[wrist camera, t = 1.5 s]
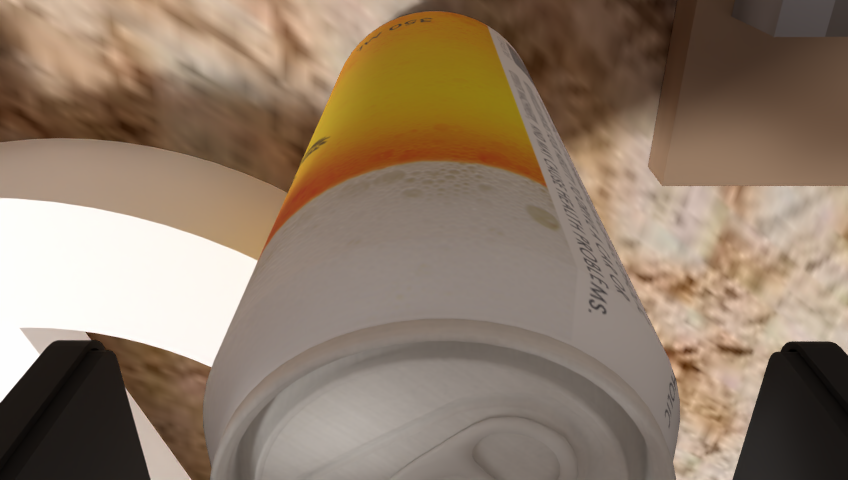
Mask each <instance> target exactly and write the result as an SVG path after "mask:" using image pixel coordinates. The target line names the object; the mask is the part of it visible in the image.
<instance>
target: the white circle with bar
mask: <svg viewBox="0 0 848 480" xmlns="http://www.w3.org/2000/svg"><path fill="white" fill-rule="evenodd" d="M286 196H287V192H285V191H283V190H281V189H279V188H277V187H275V186H273V185H271V184H269V183H266V182H264V181H261V180H259V179H257V178H254V177H252V176H250V175H247V174H245V173H242V172H240V171H237V170H234V169H231V168H228V167H225V166H223V165H220V164H217V163H214V162H211V161H207V160H204V159H200V158H197V157H193V156H190V155H186V154H182V153H178V152H174V151H169V150H165V149H160V148H156V147H150V146H144V145H138V144H132V143H125V142H117V141H106V140H96V139H73V138H50V139H28V140H19V141H9V142H1V143H0V402H1V401H2V400H3V399H4V398H5V397H6V395H7V394H8V393H9V392H10V391H11V389H12V388H13V387H14V386H15V385H16V383H17V382H18V381H19V380H20V379H21V377H22V376H23V375H24V374H25V373H26V371H27V370H28V369H29V368H30V367H31V365H32V364H33V363H34V362H35V361H36V360H37V358H38V357H39V356H40V355H41V354H42V352H43V351H44V350H45V349H46V348H47V346H48V345H50V344H51V343H52V342H54V341H57V340H91V339H90V338H89V336H88V335H87V334H86V332H91V333H99V334H104V335H109V336H114V337H120V338H124V339H128V340H132V341H136V342H140V343H145V344H148V345H151V346H155V347H158V348H161V349H165V350H168V351H171V352H174V353H176V354H179V355H182V356H185V357H188V358H190V359H193V360H195V361H198V362H200V363H202V364H205V365H207V366H210V367H212V365H213V362H214V360H215V357H216V355H217V353H218V351H219V348H220V346H221V344H222V341H223V339H224V337H225V335H226V332H227V330H228V328H229V326H230V323H231V321H232V319H233V316H234V314H235V312H236V310H237V307H238V305H239V303H240V300H241V298H242V296H243V294H244V291H245V289H246V287H247V285H248V282H249V280H250V278H251V275H252V273H253V271H254V269H255V266H256V264H257V262H258V259H259V257H260V255H261V253H262V250H263V248H264V246H265V244H266V241H267V239H268V237H269V234H270V232H271V230H272V228H273V225H274V223H275V221H276V218H277V216H278V214H279V212H280V209H281V207H282V205H283V202H284V200H285V198H286ZM125 389H126V388H125ZM126 393H127V396H128V400H129V403H130V407H131V411H132V414H133V418H134V421H135V425H136V429H137V432H138V436H139V439H140V443H141V447H142V450H143V454H144V457H145V461H146V464H147V468H148V472H149V475H150V479H151V480H191V478H190V477H189V475H188V474H187V473H186V471H185V470H184V468H183V467H182V466H181V464H180V463H179V462H178V460H177V459H176V457H175V456H174V455H173V453H172V452H171V450H170V449H169V448H168V446H167V445H166V443H165V442H164V441H163V439H162V438H161V436H160V435H159V434H158V432H157V431H156V430H155V428H154V427H153V425H152V424H151V423H150V421H149V420H148V418H147V417H146V416H145V414H144V413H143V411H142V410H141V409H140V407H139V406H138V405H137V403H136V402H135V400H134V399H133V398H132V396H131V395H130V393H129V392H128V391H127V389H126Z"/></svg>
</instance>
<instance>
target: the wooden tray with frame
mask: <svg viewBox="0 0 848 480" xmlns="http://www.w3.org/2000/svg"><path fill="white" fill-rule="evenodd" d="M648 167H649V169H650V170H651V171H652V173H653V174H654V175H655V177H656V178H657V179H658V181H659V182H660V183H661V185H662V186H848V0H677V5H676V10H675V16H674V22H673V27H672V33H671V39H670V44H669V50H668V56H667V62H666V67H665V73H664V79H663V84H662V90H661V96H660V101H659V107H658V113H657V118H656V124H655V130H654V136H653V141H652V147H651V153H650V158H649V164H648Z"/></svg>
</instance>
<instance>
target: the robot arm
mask: <svg viewBox="0 0 848 480" xmlns="http://www.w3.org/2000/svg"><path fill="white" fill-rule="evenodd" d="M0 480H151V479H150V475H149V472H148V468H147V464H146V461H145V457H144V454H143V450H142V447H141V443H140V439H139V436H138V432H137V429H136V425H135V421H134V418H133V414H132V411H131V407H130V403H129V400H128V396H127V393H126V389H125V386H124V382H123V378H122V375H121V371H120V368H119V364H118V360H117V358H116V355H115V354H114V353H113V351H109V350H105V348H104V346H103V345H102V343H101V342H100V341H96V340H57V341H54V342H52V343H51V344H50V345H48V346H47V348H46V349H45V350H44V351H43V352H42V354H41V355H40V356H39V357H38V358H37V360H36V361H35V362H34V363H33V364H32V365H31V367H30V368H29V369H28V370H27V371H26V373H25V374H24V375H23V376H22V377H21V379H20V380H19V381H18V382H17V383H16V385H15V386H14V387H13V388H12V389H11V391H10V392H9V393H8V394H7V395H6V397H5V398H4V399H3V400H2V401H1V402H0ZM733 480H848V355H847V354H846V353H845V352H844V351H843V350H842V348H841V347H839V346H838V345H837V344H836V343H833V342H788V343H786V344H785V345H784V346H783V347H782V350H781V352H775V353H773V354H772V355H771V357H770V359H769V362H768V365H767V368H766V371H765V375H764V378H763V381H762V385H761V388H760V391H759V394H758V398H757V401H756V404H755V408H754V411H753V414H752V418H751V421H750V424H749V427H748V431H747V434H746V437H745V441H744V444H743V447H742V450H741V454H740V457H739V460H738V464H737V467H736V470H735V473H734V477H733Z"/></svg>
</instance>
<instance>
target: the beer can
mask: <svg viewBox="0 0 848 480" xmlns="http://www.w3.org/2000/svg"><path fill="white" fill-rule="evenodd" d="M679 423H680V400H679V394H678V389H677V383H676V378H675V376H674V373H673V370H672V367H671V364H670V361H669V358H668V356H667V354H666V352H665V350H664V348H663V346H662V344H661V342H660V340H659V338H658V336H657V334H656V332H655V330H654V328H653V326H652V324H651V322H650V320H649V318H648V316H647V314H646V312H645V309H644V307H643V305H642V303H641V301H640V299H639V297H638V295H637V293H636V291H635V289H634V287H633V285H632V283H631V281H630V279H629V277H628V275H627V273H626V271H625V269H624V267H623V265H622V263H621V260H620V258H619V256H618V254H617V252H616V250H615V248H614V246H613V244H612V242H611V240H610V238H609V236H608V234H607V232H606V230H605V228H604V226H603V224H602V222H601V220H600V218H599V216H598V214H597V211H596V209H595V207H594V205H593V203H592V201H591V199H590V197H589V195H588V193H587V191H586V189H585V187H584V185H583V183H582V181H581V179H580V177H579V175H578V173H577V171H576V169H575V167H574V164H573V162H572V160H571V158H570V156H569V154H568V152H567V150H566V148H565V146H564V144H563V142H562V140H561V138H560V136H559V134H558V132H557V130H556V128H555V126H554V124H553V122H552V120H551V118H550V115H549V113H548V111H547V109H546V107H545V105H544V103H543V101H542V99H541V97H540V95H539V93H538V91H537V89H536V87H535V85H534V83H533V81H532V79H531V77H530V75H529V73H528V71H527V69H526V67H525V65H524V63H523V61H522V59H521V58H520V56H519V55H518V53H517V52H516V50H515V49H514V48H513V47H512V46H511V45H510V43H509V42H508V41H507V40H506V39H505V38H503V37H502V36H501V35H500V34H499V33H498V32H496V31H495V30H493V29H492V28H490V27H489V26H487V25H486V24H484V23H482V22H480V21H478V20H476V19H473V18H470V17H468V16H465V15H461V14H456V13H452V12H443V11H426V12H418V13H413V14H409V15H405V16H401V17H399V18H396V19H394V20H391V21H389V22H387V23H386V24H384V25H382V26H380V27H379V28H377V29H376V30H374V31H373V32H372V33H370V34H369V35H368V36H367V37H366V38H365V39H364V40H362V41H361V42H360V43H359V45H358V46H357V47H356V48H355V49H354V50H353V52H352V53H351V55H350V56H349V58H348V59H347V61H346V62H345V64H344V66H343V69H342V71H341V73H340V75H339V77H338V79H337V82H336V84H335V86H334V89H333V91H332V93H331V95H330V98H329V100H328V102H327V104H326V107H325V109H324V111H323V114H322V116H321V118H320V120H319V123H318V125H317V127H316V130H315V132H314V134H313V136H312V139H311V141H310V143H309V146H308V148H307V150H306V152H305V155H304V157H303V159H302V161H301V164H300V166H299V168H298V171H297V173H296V175H295V177H294V180H293V182H292V184H291V187H290V189H289V191H288V193H287V196H286V198H285V200H284V202H283V205H282V207H281V209H280V212H279V214H278V216H277V218H276V221H275V223H274V225H273V228H272V230H271V232H270V234H269V237H268V239H267V241H266V244H265V246H264V248H263V250H262V253H261V255H260V257H259V259H258V262H257V264H256V266H255V269H254V271H253V273H252V275H251V278H250V280H249V282H248V285H247V287H246V289H245V291H244V294H243V296H242V298H241V300H240V303H239V305H238V307H237V310H236V312H235V314H234V316H233V319H232V321H231V323H230V326H229V328H228V330H227V332H226V335H225V337H224V339H223V341H222V344H221V346H220V348H219V351H218V353H217V355H216V357H215V360H214V362H213V365H212V368H211V371H210V374H209V377H208V380H207V383H206V389H205V395H204V401H203V428H204V433H205V439H206V445H207V450H208V454H209V459H210V464H211V468H212V470H211V476H210V480H676V476H675V471H674V466H673V459H674V454H675V448H676V443H677V436H678V430H679Z"/></svg>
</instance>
